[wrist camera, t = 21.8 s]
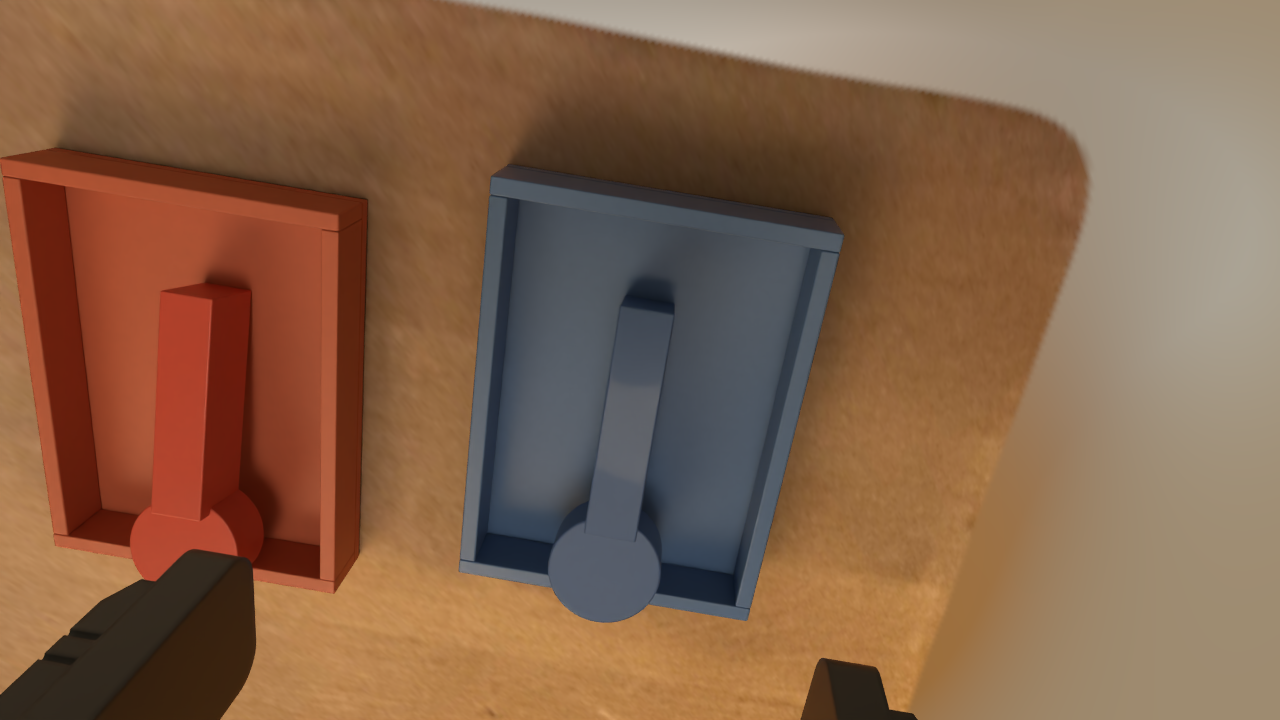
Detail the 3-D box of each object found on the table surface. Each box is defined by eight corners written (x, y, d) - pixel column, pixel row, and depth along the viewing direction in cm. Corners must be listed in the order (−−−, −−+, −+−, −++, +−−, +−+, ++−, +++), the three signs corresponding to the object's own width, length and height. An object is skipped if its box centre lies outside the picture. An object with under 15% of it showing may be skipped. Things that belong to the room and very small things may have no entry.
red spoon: (173, 277, 30) (127, 284, 27) (281, 295, 30) (245, 304, 27) (160, 566, 32) (116, 599, 30) (260, 583, 32) (225, 617, 30)
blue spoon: (594, 289, 29) (586, 298, 26) (706, 308, 29) (708, 319, 26) (548, 586, 31) (537, 621, 29) (652, 604, 31) (650, 641, 29)
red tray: (54, 147, 29) (-2, 157, 27) (368, 199, 29) (338, 214, 26) (97, 512, 35) (54, 546, 32) (359, 556, 34) (334, 594, 32)
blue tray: (508, 163, 28) (490, 175, 26) (833, 217, 28) (845, 234, 26) (475, 535, 34) (458, 572, 31) (744, 581, 34) (747, 621, 31)
